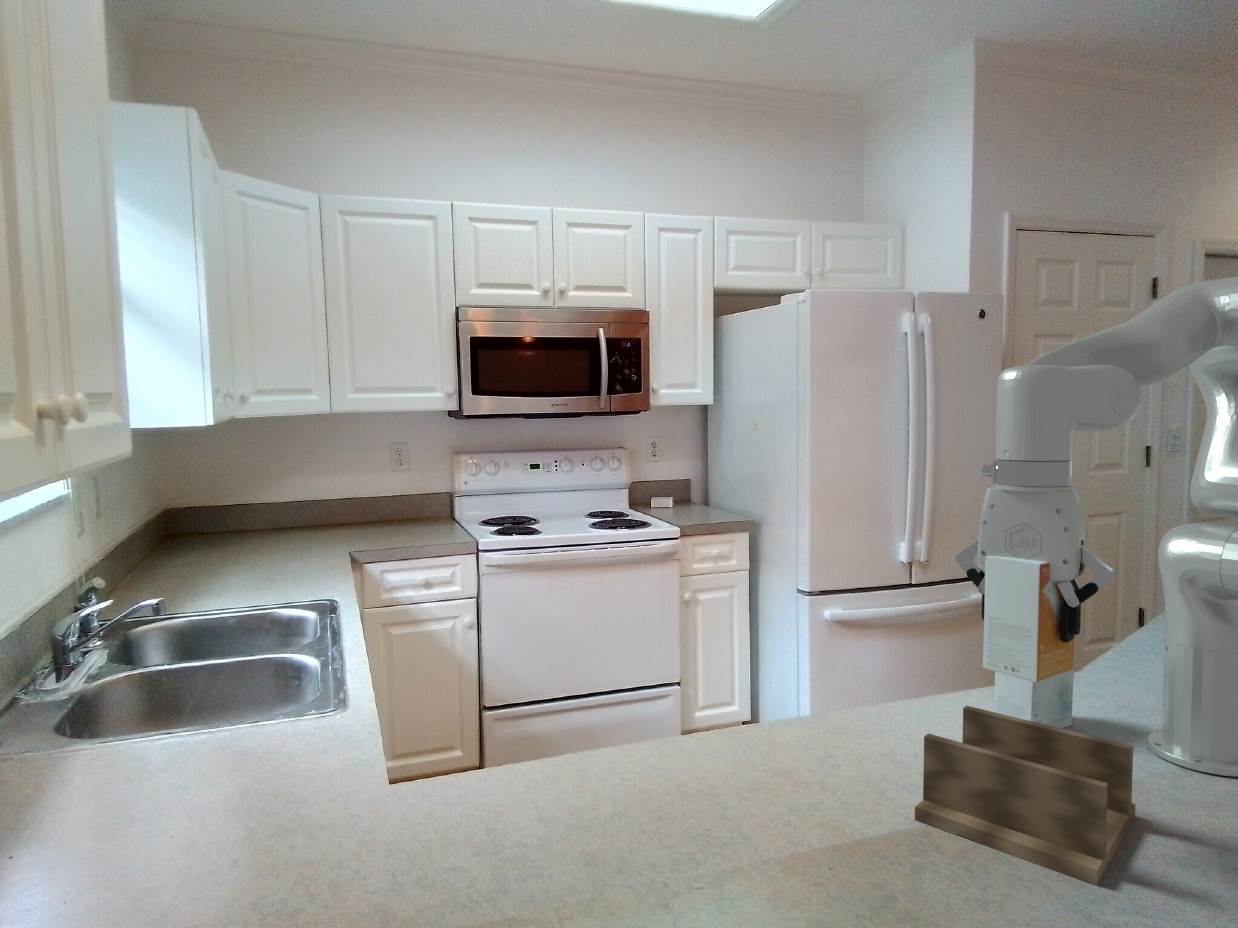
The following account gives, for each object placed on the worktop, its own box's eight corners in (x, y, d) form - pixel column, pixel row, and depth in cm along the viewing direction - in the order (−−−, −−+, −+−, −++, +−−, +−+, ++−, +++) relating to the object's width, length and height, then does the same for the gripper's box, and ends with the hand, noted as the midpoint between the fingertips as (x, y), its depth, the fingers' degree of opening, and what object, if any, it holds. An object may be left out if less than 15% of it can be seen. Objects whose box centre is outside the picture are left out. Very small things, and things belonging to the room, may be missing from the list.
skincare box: (1033, 741, 108) (1034, 668, 108) (991, 725, 114) (992, 656, 113) (1074, 726, 113) (1076, 656, 113) (1032, 712, 119) (1034, 646, 118)
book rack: (914, 819, 87) (915, 742, 86) (971, 768, 99) (973, 700, 99) (1096, 885, 74) (1099, 795, 74) (1135, 816, 87) (1137, 739, 86)
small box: (1037, 684, 81) (1040, 563, 80) (981, 668, 86) (983, 555, 86) (1075, 670, 85) (1078, 556, 85) (1019, 656, 91) (1021, 548, 90)
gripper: (940, 475, 88) (938, 625, 89) (1116, 482, 76) (1111, 656, 77) (964, 472, 94) (962, 614, 94) (1132, 478, 81) (1127, 641, 82)
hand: (1029, 632), depth 86 cm, fingers closed on small box, 7 cm apart
